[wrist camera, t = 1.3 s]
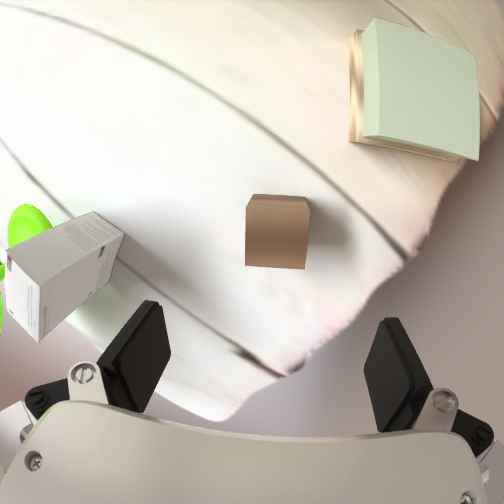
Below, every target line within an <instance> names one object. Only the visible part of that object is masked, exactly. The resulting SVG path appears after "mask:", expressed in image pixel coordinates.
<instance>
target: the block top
mask: <svg viewBox="0 0 504 504" xmlns="http://www.w3.org/2000/svg"><path fill="white" fill-rule="evenodd" d="M361 36H362V50H363V74H364V118H363V137H370V138H376V139H381V140H387V141H392V142H397V143H402V144H407V145H411V146H416V147H420V148H424V149H428V150H432V151H436V152H440V153H443V154H447V155H450V156H454V157H459V158H465V159H471V160H476V161H478V159H479V142H480V107H479V90H478V79H477V70H476V63H475V56H474V55H472V54H470V53H468V52H466V51H464V50H462V49H460V48H458V47H456V46H454V45H452V44H450V43H447V42H445V41H443V40H441V39H438V38H436V37H433V36H431V35H428V34H426V33H423V32H420V31H417V30H415V29H412V28H409V27H406V26H403V25H399V24H396V23H393V22H389V21H386V20H382V19H378V18H374V19H373V20H372V21H371V23H370V24H369V25H368V26H367V28H366V29H365V30H364V32H363V33H362V34H361Z"/></svg>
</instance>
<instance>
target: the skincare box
mask: <svg viewBox="0 0 504 504" xmlns="http://www.w3.org/2000/svg"><path fill="white" fill-rule="evenodd" d="M123 238H124V233H123V232H122V231H120V230H119V229H117V228H116V227H114V226H113V225H111V224H110V223H109V222H107V221H106V220H104V219H103V218H102V217H100V216H99V215H97V214H96V213H95V212H93V211H92V212H90V213H87V214H85V215H82V216H79V217H77V218H75V219H72V220H70V221H67V222H65V223H62V224H60V225H58V226H55V227H53V228H51V229H48V230H46V231H44V232H42V233H40V234H38V235H35V236H33V237H31V238H29V239H27V240H25V241H22V242H20V243H18V244H16V245H14V246H12V247H10V248H8V249H6V250H5V278H4V287H5V291H6V304H7V311H8V312H9V313H10V314H11V315H12V317H13V318H14V319H15V320H16V321H17V322H18V323H19V324H20V325H21V326H22V327H23V328H24V329H25V330H26V331H27V332H28V333H29V334H30V335H31V336H32V337H33V338H34V339H35V340H36V341H37V342H40V341H41V340H42V339H43V338H44V337H45V336H46V335H47V334H48V333H49V332H50V331H52V330H53V329H54V328H55V327H56V326H57V325H58V324H59V323H60V322H61V321H63V320H64V319H65V318H66V317H67V316H68V315H69V314H71V313H72V312H73V311H74V310H75V309H76V308H78V307H79V306H80V305H81V304H82V303H83V302H85V301H86V300H87V299H88V298H89V297H90V296H92V295H93V294H94V293H95V292H96V291H98V290H99V289H100V288H101V287H102V286H104V285H105V284H106V283H107V282H108V281H109V280H110V274H111V270H112V267H113V264H114V261H115V258H116V255H117V252H118V250H119V247H120V245H121V242H122V240H123Z"/></svg>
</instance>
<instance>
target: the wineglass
mask: <svg viewBox="0 0 504 504" xmlns="http://www.w3.org/2000/svg"><path fill="white" fill-rule="evenodd" d="M51 228H52V226H51V224H50V222H49V221H48V219H47V218H46V217H45V216H44V215H43V213H42V212H41V211H40V210H38V209H37V208H36V207H34V206H32V205H28V204H24V205H20V206H19V207H18V208H17V209H15V210H14V212H13V214H12V216H11V218H10V220H9V225H8V245H9V248H10V247H12V246H14V245H16V244H18V243H20V242H22V241H25V240H27V239H29V238H31V237H33V236H35V235H38V234H40V233H42V232H44V231H46V230H48V229H51ZM4 278H5V263H4V264H2V265H1V266H0V281H1V280H2V279H4ZM2 321H3V308H2V298H1V293H0V334H1V329H2Z"/></svg>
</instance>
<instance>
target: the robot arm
mask: <svg viewBox="0 0 504 504" xmlns="http://www.w3.org/2000/svg"><path fill="white" fill-rule="evenodd" d="M170 356H171V350H170V345H169V340H168V335H167V330H166V324H165V319H164V313H163V308H162V306H160V305H159V303H158V302H155V301H148V300H145V301H144V302H143V303H142V304H141V305H140V307H139V308H138V309H137V310H136V312H135V313H134V314H133V315H132V317H131V318H130V319H129V320H128V322H127V323H126V324H125V325H124V327H123V328H122V329H121V331H120V332H119V333H118V334H117V336H116V337H115V338H114V340H113V341H112V342H111V343H110V345H109V346H108V347H107V349H106V350H105V351H104V353H103V354H102V355H101V357H100V358H99V360H98V361H97V363H94V362H92V361H80V362H78V363H76V364H74V365H73V366H72V367H71V368H70V369H69V371H68V378H66V379H63V380H59V381H56V382H52V383H48V384H45V385H41V386H37V387H34V388H32V389H31V390H30V391H29V392H28V393H27V394H26V397H25V402H22V401H21V400H20V401H18V402H17V403H15V404H13V405H11V406H9V407H8V408H6V409H4V410H2V411H0V461H1V464H2V466H3V468H4V471H5V473H6V475H5V476H4V479H3V481H2V483H1V485H0V504H502V503H503V502H504V445H503V444H502V443H501V442H500V441H498V440H496V441H494V440H493V439H494V433H493V430H492V428H491V427H490V426H489V425H488V424H487V423H485V422H483V421H481V420H479V419H477V418H475V417H473V416H471V415H469V414H467V413H465V412H463V411H461V410H459V409H458V405H459V402H458V398H457V397H456V395H455V394H454V393H453V392H452V391H450V390H449V389H446V388H436V389H434V388H433V386H432V384H431V382H430V379H429V377H428V375H427V373H426V371H425V369H424V367H423V364H422V363H421V361H420V358H419V356H418V354H417V353H416V350H415V349H414V346H413V345H412V343H411V341H410V339H409V337H408V335H407V333H406V331H405V330H404V327H403V326H402V324H401V322H400V320H399V319H398V318H397V317H392V318H385V319H384V320H383V321H381V322H380V323H379V326H378V329H377V333H376V335H375V339H374V341H373V344H372V347H371V349H370V352H369V355H368V357H367V360H366V363H365V365H364V375H365V379H366V382H367V386H368V390H369V394H370V398H371V402H372V406H373V411H374V415H375V420H376V424H377V429H378V431H379V432H382V433H377V434H367V435H355V436H339V437H280V436H263V435H252V434H242V433H234V432H226V431H219V430H213V429H206V428H201V427H195V426H190V425H185V424H181V423H176V422H172V421H168V420H164V419H160V418H155V417H151V416H148V415H144V414H140V413H143V412H144V410H145V408H146V406H147V404H148V402H149V400H150V398H151V396H152V394H153V392H154V390H155V388H156V386H157V384H158V381H159V379H160V377H161V375H162V373H163V371H164V369H165V367H166V365H167V363H168V361H169V359H170Z"/></svg>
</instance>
